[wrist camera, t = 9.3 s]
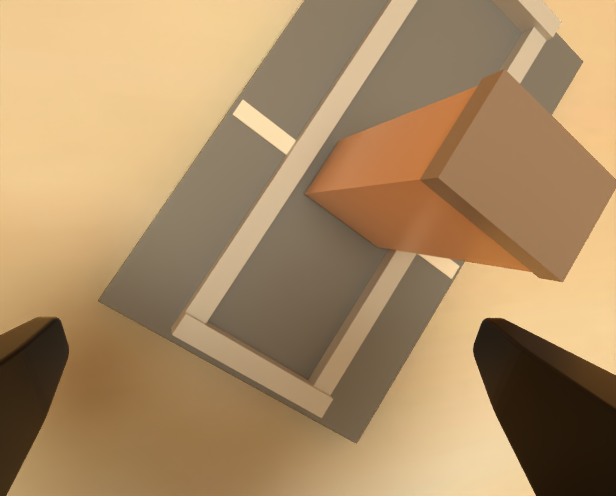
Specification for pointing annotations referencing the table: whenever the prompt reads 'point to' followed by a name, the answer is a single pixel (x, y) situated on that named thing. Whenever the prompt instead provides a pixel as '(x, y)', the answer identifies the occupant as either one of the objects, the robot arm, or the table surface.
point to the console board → (313, 217)
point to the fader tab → (470, 182)
